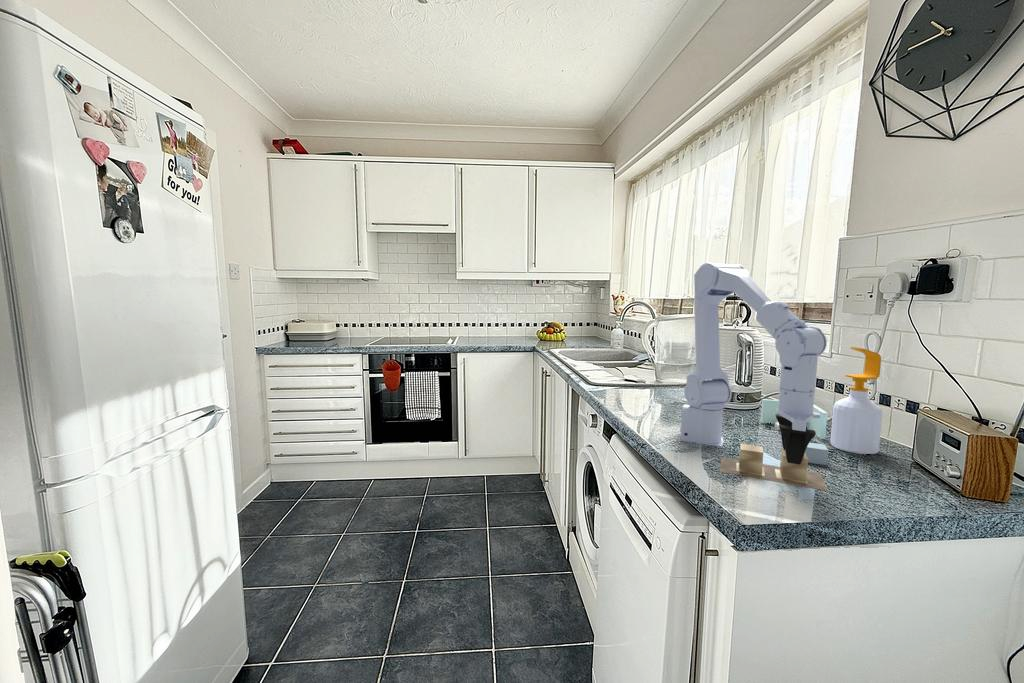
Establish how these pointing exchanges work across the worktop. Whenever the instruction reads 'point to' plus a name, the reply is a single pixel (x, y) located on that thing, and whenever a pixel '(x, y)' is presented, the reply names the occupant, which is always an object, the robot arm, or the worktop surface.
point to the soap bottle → (858, 413)
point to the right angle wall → (814, 424)
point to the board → (773, 474)
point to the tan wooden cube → (793, 468)
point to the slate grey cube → (817, 453)
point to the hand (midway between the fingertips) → (791, 456)
